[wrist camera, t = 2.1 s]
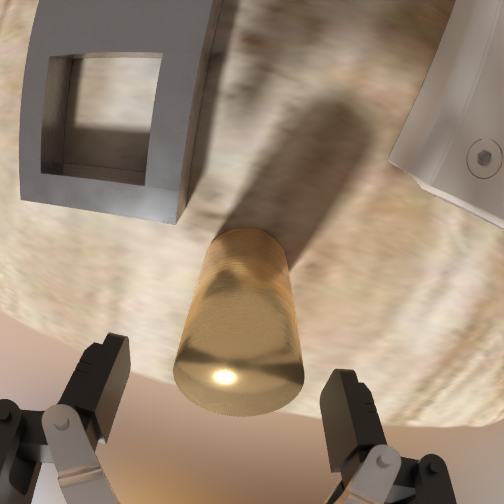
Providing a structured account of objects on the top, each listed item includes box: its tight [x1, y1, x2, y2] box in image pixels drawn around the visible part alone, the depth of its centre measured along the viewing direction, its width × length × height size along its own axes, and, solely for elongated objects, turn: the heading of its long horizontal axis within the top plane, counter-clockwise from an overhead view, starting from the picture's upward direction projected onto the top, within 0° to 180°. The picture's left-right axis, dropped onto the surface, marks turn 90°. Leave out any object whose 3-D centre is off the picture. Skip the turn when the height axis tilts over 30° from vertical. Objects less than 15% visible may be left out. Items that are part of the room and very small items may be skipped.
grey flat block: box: [19, 0, 223, 225], centre depth 12 cm, size 10×20×2 cm, turn 169°
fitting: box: [173, 228, 304, 416], centre depth 15 cm, size 5×5×9 cm
